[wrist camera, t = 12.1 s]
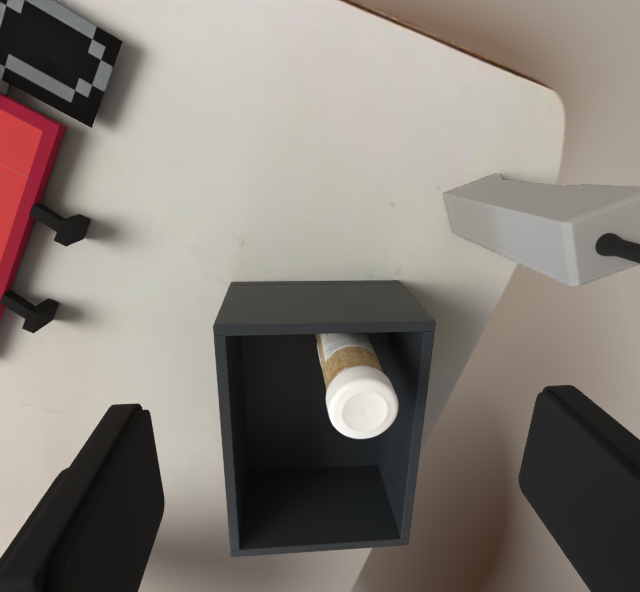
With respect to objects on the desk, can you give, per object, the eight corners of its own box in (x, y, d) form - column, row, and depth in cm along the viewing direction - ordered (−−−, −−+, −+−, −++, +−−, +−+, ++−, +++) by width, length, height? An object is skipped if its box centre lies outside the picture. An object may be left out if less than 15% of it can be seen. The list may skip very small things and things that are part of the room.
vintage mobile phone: (502, 212, 37) (892, 317, 13) (450, 232, 37) (744, 368, 13) (494, 172, 35) (911, 208, 12) (440, 192, 36) (747, 267, 12)
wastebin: (230, 281, 37) (212, 325, 27) (398, 280, 38) (436, 321, 29) (242, 471, 44) (230, 557, 34) (382, 463, 45) (408, 545, 36)
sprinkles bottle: (311, 347, 38) (325, 442, 26) (315, 302, 37) (331, 379, 24) (358, 348, 39) (395, 442, 26) (364, 304, 37) (405, 381, 25)
